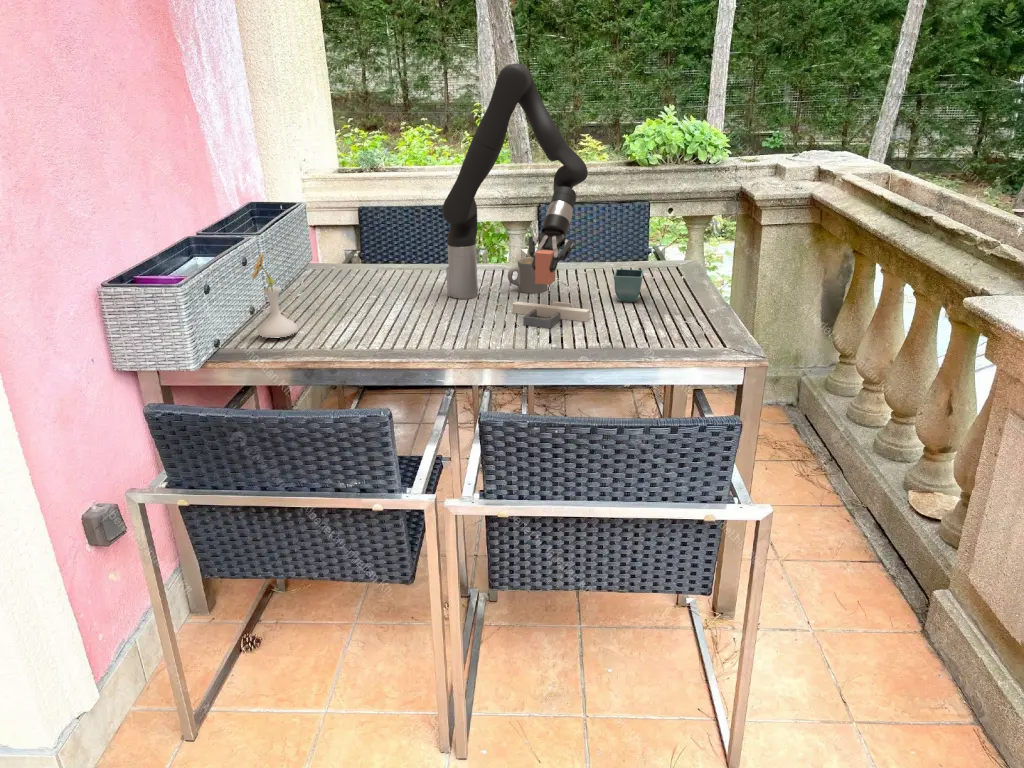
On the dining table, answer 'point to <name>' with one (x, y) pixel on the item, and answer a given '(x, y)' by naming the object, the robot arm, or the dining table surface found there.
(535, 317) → the keeper bracket
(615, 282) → the flower pot
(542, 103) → the robot arm
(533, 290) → the coffee mug
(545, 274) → the block
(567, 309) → the strip
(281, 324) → the flower in vase
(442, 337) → the dining table surface
